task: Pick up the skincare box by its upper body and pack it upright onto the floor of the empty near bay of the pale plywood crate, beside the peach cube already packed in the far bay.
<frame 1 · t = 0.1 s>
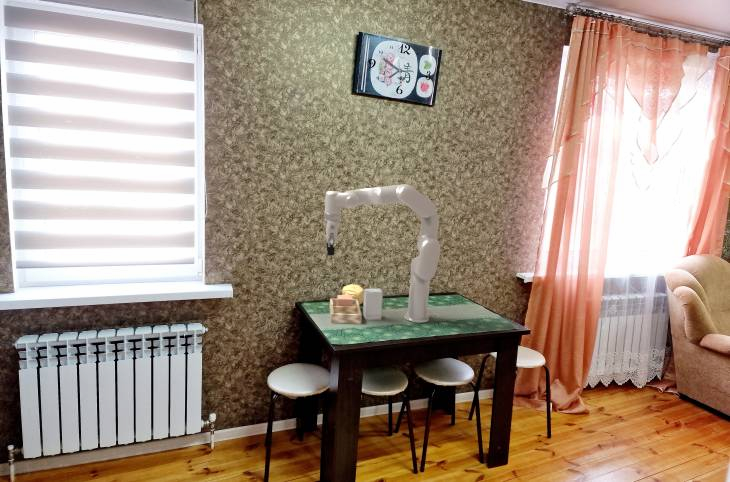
hand: (330, 253, 224), 31 cm above the table, fingers open, 9 cm apart
sculpture: (353, 304, 250), on the table
crate: (344, 316, 230), on the table
peach cube: (343, 310, 236), point 1 cm above the table, touching crate
skincare box: (371, 319, 229), on the table
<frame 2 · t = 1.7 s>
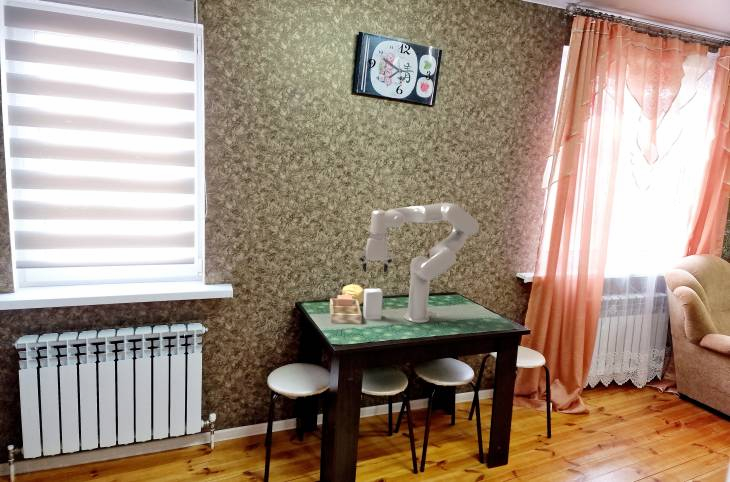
hand: (374, 271, 224), 24 cm above the table, fingers open, 9 cm apart
nothing on the table moved.
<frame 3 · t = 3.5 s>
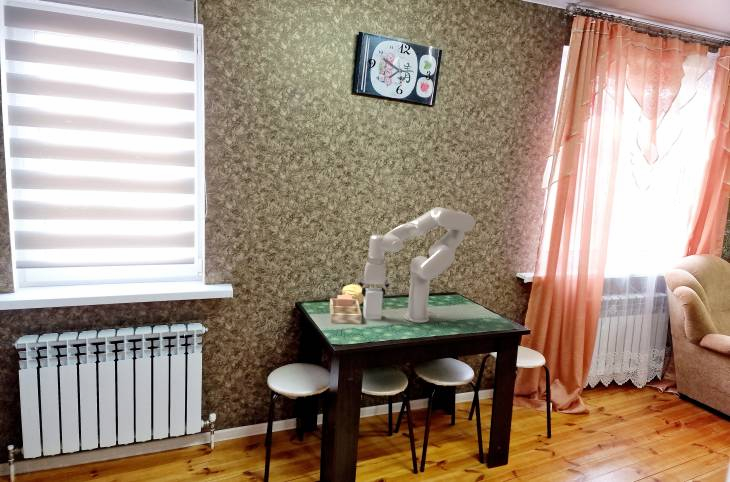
hand: (373, 295, 226), 12 cm above the table, fingers closed on skincare box, 8 cm apart
skincare box: (371, 319, 229), on the table, touching gripper
everything else where it was.
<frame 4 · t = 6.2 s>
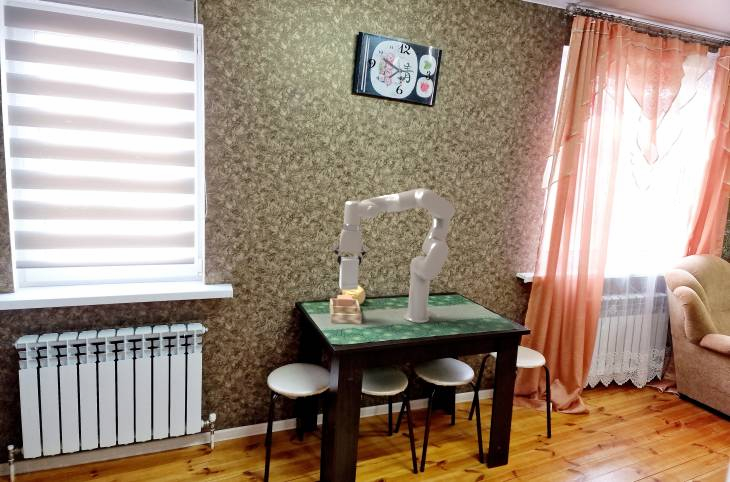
hand: (349, 264, 219), 27 cm above the table, fingers closed on skincare box, 8 cm apart
skincare box: (347, 288, 222), point 16 cm above the table, touching gripper
everything else where it was.
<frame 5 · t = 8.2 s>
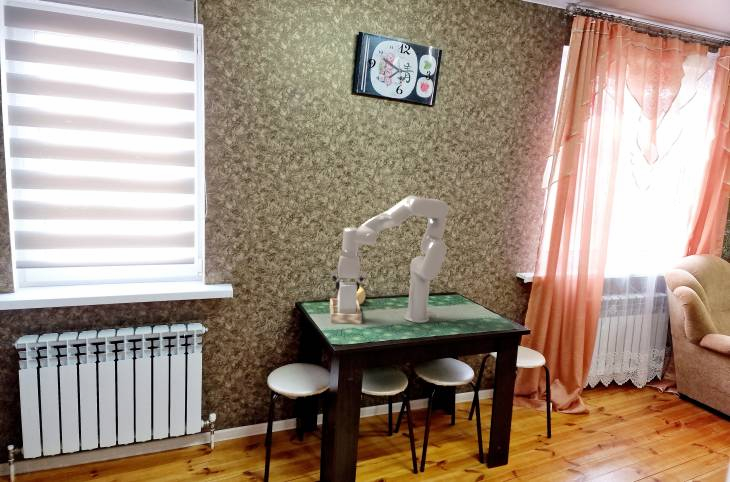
hand: (347, 290, 222), 15 cm above the table, fingers closed on skincare box, 8 cm apart
skincare box: (345, 314, 224), point 3 cm above the table, touching gripper
everything else where it was.
when the fingers open (13 cm above the table, at t = 9.3 s): skincare box stays where it is, resting on crate.
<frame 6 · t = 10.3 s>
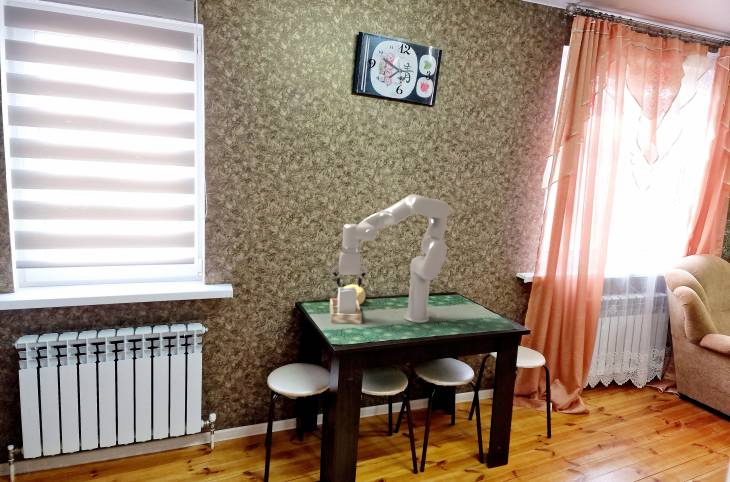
hand: (348, 286, 221), 17 cm above the table, fingers open, 9 cm apart
skincare box: (345, 319, 224), point 1 cm above the table, touching crate
everything else where it was.
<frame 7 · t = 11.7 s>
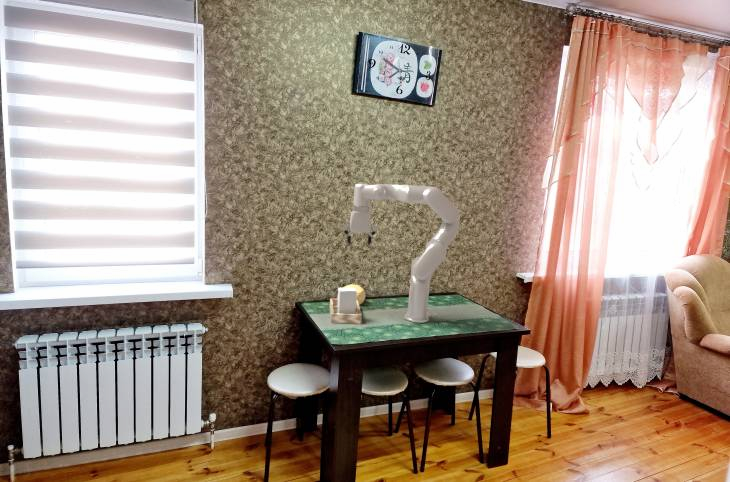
hand: (359, 244, 230), 35 cm above the table, fingers open, 9 cm apart
nothing on the table moved.
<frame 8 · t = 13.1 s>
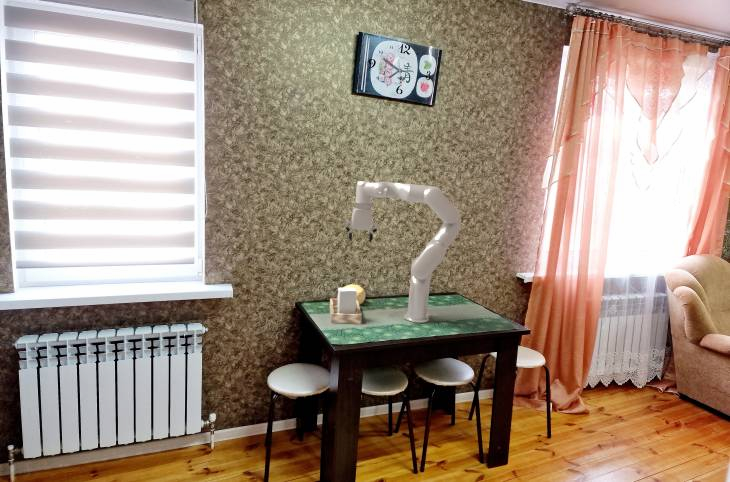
hand: (360, 241, 232), 36 cm above the table, fingers open, 9 cm apart
nothing on the table moved.
at the end: skincare box inside the target area on the crate (0.2 cm from its centre), point 0.6 cm above the crate's base; skincare box tilted 0°; the gripper is holding nothing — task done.
